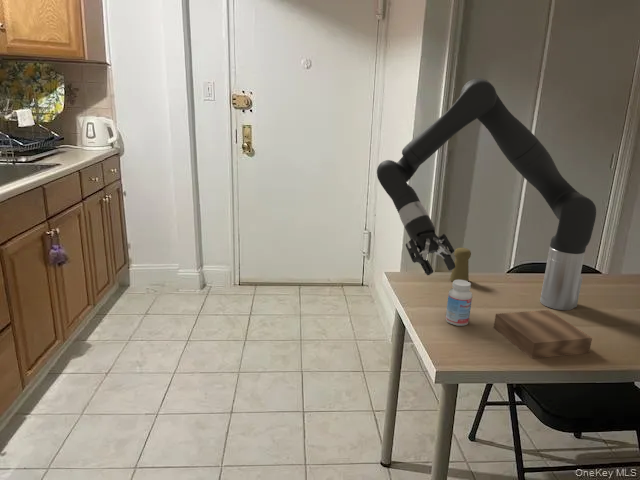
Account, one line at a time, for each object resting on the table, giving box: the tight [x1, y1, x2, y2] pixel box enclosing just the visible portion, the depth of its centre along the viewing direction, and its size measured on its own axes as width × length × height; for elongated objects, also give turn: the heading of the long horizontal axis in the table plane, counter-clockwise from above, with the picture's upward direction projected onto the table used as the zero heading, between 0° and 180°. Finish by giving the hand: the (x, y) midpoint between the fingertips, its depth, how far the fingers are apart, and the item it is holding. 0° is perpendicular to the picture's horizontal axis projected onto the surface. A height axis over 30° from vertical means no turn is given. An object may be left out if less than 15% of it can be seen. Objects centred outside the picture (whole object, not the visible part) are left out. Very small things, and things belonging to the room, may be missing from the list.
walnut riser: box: [493, 309, 593, 359], centre depth 128 cm, size 16×16×4 cm
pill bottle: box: [445, 280, 473, 327], centre depth 135 cm, size 6×6×11 cm
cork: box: [449, 247, 472, 283], centre depth 165 cm, size 6×6×11 cm
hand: (441, 271), depth 139 cm, fingers open, 8 cm apart
